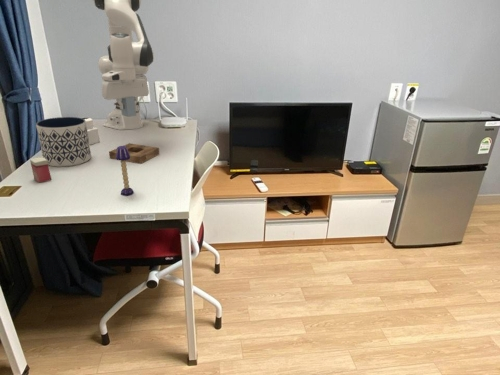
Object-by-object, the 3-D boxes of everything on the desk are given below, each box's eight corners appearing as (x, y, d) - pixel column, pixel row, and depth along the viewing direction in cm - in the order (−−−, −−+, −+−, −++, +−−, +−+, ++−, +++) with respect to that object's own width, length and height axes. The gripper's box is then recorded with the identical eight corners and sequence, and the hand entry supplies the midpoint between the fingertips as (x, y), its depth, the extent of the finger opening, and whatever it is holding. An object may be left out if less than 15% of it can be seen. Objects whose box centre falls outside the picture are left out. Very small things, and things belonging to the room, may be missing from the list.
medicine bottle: (77, 143, 168) (73, 119, 163) (89, 139, 174) (85, 116, 169) (89, 145, 166) (85, 120, 161) (100, 141, 172) (96, 118, 167)
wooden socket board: (109, 158, 151) (108, 151, 150) (130, 149, 163) (129, 143, 162) (140, 163, 146) (140, 157, 145) (159, 154, 158) (158, 147, 157)
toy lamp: (117, 193, 119) (111, 147, 113) (128, 188, 123) (123, 143, 116) (126, 196, 117) (120, 150, 110) (137, 192, 121) (132, 146, 114)
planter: (44, 155, 150) (36, 118, 144) (89, 151, 158) (84, 115, 152) (43, 169, 136) (34, 129, 129) (93, 164, 144) (87, 125, 137)
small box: (33, 179, 127) (29, 159, 124) (46, 176, 130) (42, 156, 127) (39, 183, 125) (34, 162, 121) (51, 179, 128) (47, 159, 124)
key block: (128, 116, 148) (125, 97, 145) (121, 115, 151) (119, 96, 148) (137, 115, 152) (135, 96, 148) (131, 113, 155) (129, 95, 151)
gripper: (142, 73, 154) (144, 104, 159) (97, 75, 139) (102, 109, 145) (150, 74, 150) (152, 106, 155) (105, 76, 136) (110, 112, 141)
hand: (128, 108), depth 150 cm, fingers closed on key block, 4 cm apart
